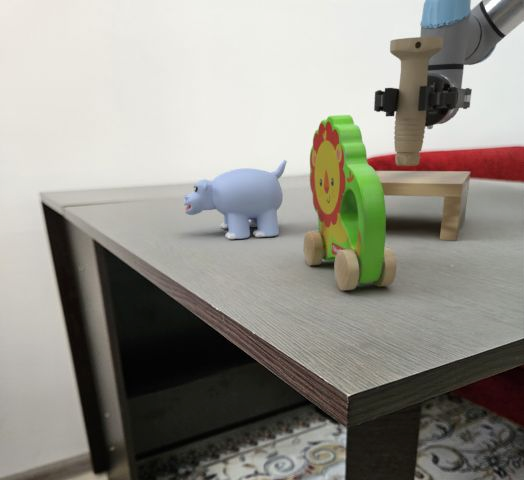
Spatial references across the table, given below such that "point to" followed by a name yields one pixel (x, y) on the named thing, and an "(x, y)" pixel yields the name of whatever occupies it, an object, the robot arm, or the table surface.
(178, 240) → the table surface
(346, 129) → the toy lion
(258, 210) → the hippopotamus toy
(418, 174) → the shelf stand
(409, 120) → the handle
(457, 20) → the robot arm
